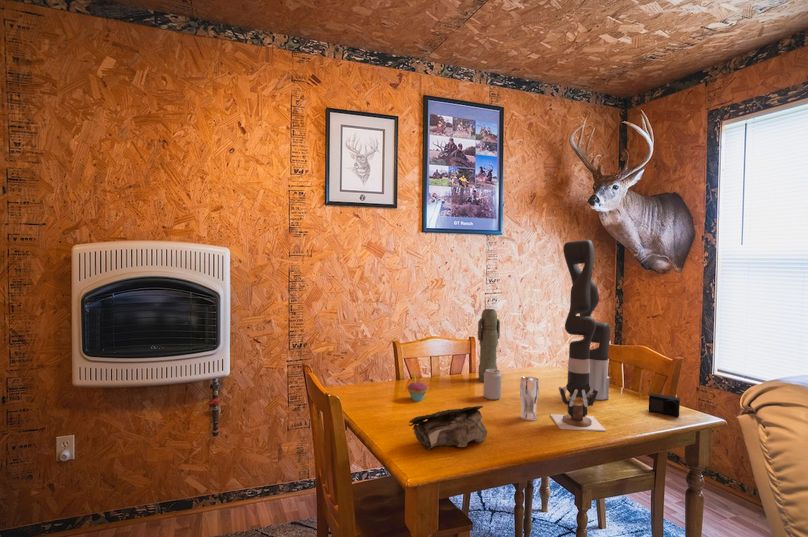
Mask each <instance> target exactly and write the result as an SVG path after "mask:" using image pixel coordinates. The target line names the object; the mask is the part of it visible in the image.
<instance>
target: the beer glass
mask: <svg viewBox="0 0 808 537" xmlns="http://www.w3.org/2000/svg"><path fill="white" fill-rule="evenodd" d="M539 381H540V379H539V378H537V377H534V376H522V377H521V378H520V383H519V395H520V396H519V397H520V402H521V411H520V415H519V416H520V419H521V420H523V421H529V422H532V421H537V419H538V416H537V407H538V406H537V405H538V400H539V396H540V382H539Z"/></svg>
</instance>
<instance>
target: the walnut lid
mask: <svg viewBox="0 0 808 537" xmlns="http://www.w3.org/2000/svg"><path fill="white" fill-rule="evenodd" d="M572 406H573V416H570V415H569V414H568V413H567V414H563V415H564V416H563V421H564V422H565V423H567V424H569V425H572V426H577V427H588V426H591V425H592V420H591V419H589V418H587V417H583V404H580V403H573V405H572Z"/></svg>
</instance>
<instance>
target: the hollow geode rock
mask: <svg viewBox="0 0 808 537" xmlns="http://www.w3.org/2000/svg"><path fill="white" fill-rule="evenodd" d="M482 408H484V405H476V406H466V407H462V408H453V409H446V410H440V411H437V412H435V413H430V414H425V415H419V416H415V417H414V418H412V419H410V420H409V421H408V423H409V424H408V426H409V427H412V426H413V427H412V431H413V433H414V436H415V439H416V440H417V442H418V443H419V444H421V446H422V447H423V448H424V450H427V451H429V450H430V449H432V448H435V447H437V446H441V447H442V446H445V447H448V446H456V447H459V448H465V447H467V446H468V443H469V442H475V443H483V442H484V441H485V439H486V437H487V434H488V432H489V431H488V430H487V429H486V427H485V425H484V423H483V421H482V419H483V415H482V413H481V412H480V409H482Z"/></svg>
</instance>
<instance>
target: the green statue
mask: <svg viewBox="0 0 808 537" xmlns="http://www.w3.org/2000/svg"><path fill="white" fill-rule="evenodd" d="M480 316H481V318H480V319H479V320H478V322H477V340H478V341H479V365H478V372H477V374H478V381H480V382H482V383H484V373H485V372H486V370H487V369H497V370H498V367H497V347H498V345H499V344H498V343H499V342H498V341H499V339H500V329H501V328H500V327H501V322H500V320H499V319H498V314H497V311H496V310H495V309H493V308H484V309H483V310H482V313H481V315H480Z"/></svg>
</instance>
